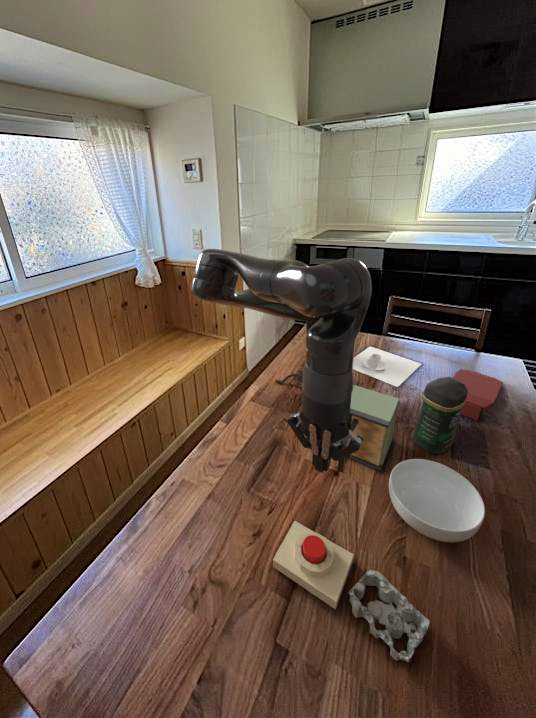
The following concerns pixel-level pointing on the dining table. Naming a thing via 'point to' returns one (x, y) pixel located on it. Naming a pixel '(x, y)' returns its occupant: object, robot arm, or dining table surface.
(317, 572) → the switch box
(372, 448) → the door
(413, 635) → the egg carton
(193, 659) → the dining table surface
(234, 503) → the dining table surface
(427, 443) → the coffee jar
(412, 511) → the cereal bowl
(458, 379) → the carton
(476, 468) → the dining table surface
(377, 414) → the cupboard
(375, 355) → the teacup and saucer
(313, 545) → the button
